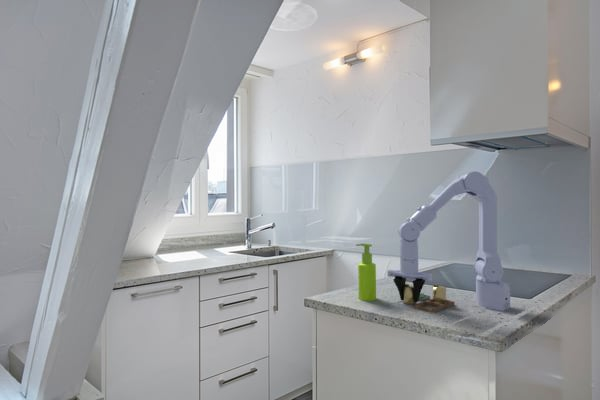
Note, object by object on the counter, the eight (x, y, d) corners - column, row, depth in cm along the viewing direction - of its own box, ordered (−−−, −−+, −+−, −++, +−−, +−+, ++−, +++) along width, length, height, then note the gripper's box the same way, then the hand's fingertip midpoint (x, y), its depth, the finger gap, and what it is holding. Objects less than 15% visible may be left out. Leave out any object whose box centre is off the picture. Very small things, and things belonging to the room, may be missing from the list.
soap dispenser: (363, 298, 140) (362, 242, 140) (379, 301, 135) (378, 243, 135) (352, 301, 135) (352, 243, 135) (369, 305, 131) (368, 245, 130)
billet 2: (448, 306, 126) (448, 285, 126) (442, 308, 123) (442, 287, 123) (437, 303, 129) (436, 283, 129) (430, 305, 126) (430, 285, 126)
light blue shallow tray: (425, 306, 129) (425, 302, 129) (411, 311, 123) (411, 307, 123) (407, 302, 134) (407, 298, 134) (394, 306, 128) (394, 302, 128)
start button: (425, 301, 133) (425, 293, 133) (421, 303, 131) (420, 294, 131) (418, 299, 136) (418, 291, 136) (413, 301, 134) (413, 293, 134)
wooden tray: (456, 308, 125) (456, 301, 125) (435, 317, 117) (435, 309, 117) (433, 304, 131) (433, 297, 131) (412, 311, 123) (412, 304, 123)
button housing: (430, 302, 133) (430, 295, 133) (422, 305, 130) (422, 298, 130) (417, 299, 137) (417, 293, 137) (409, 302, 134) (408, 295, 134)
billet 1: (418, 305, 128) (418, 284, 128) (410, 307, 126) (410, 286, 126) (408, 302, 131) (408, 283, 131) (400, 304, 129) (400, 284, 129)
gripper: (435, 259, 127) (435, 301, 127) (393, 255, 136) (393, 294, 136) (428, 262, 122) (428, 305, 122) (384, 258, 130) (385, 299, 130)
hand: (409, 300), depth 128 cm, fingers closed on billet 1, 4 cm apart
